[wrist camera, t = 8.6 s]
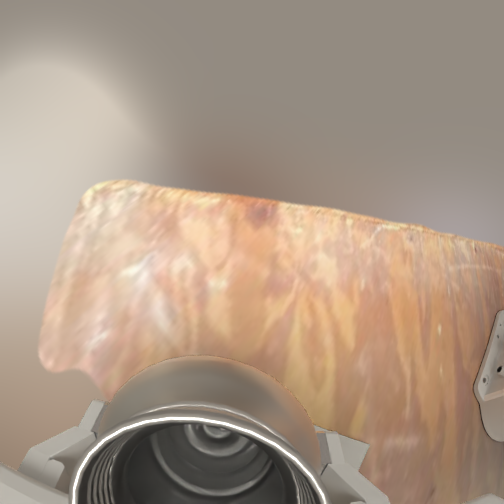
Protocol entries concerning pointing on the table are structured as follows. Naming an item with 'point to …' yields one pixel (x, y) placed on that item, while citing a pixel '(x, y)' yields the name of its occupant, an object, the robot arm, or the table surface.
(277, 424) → the plastic bottle
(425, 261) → the table surface
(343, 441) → the rubber pad
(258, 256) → the table surface
